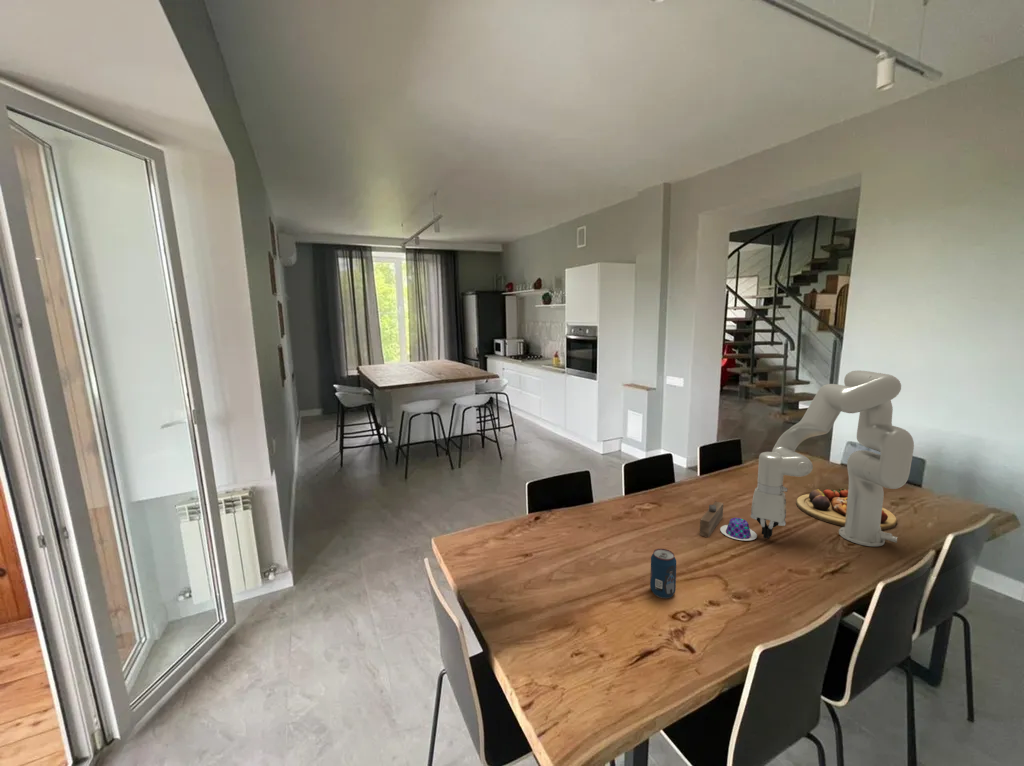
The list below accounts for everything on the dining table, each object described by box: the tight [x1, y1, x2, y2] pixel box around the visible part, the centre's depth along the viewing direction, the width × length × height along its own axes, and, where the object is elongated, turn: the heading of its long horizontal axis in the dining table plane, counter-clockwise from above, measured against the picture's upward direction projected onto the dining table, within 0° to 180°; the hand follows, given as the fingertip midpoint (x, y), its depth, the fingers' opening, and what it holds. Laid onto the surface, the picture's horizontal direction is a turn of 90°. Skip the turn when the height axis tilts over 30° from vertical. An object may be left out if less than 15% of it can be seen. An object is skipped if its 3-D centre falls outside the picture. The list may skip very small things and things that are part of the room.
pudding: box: [719, 517, 758, 542], centre depth 156 cm, size 12×12×5 cm
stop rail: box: [699, 501, 724, 538], centre depth 162 cm, size 3×20×8 cm, turn 140°
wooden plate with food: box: [795, 488, 898, 531], centre depth 171 cm, size 32×32×8 cm
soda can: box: [649, 548, 677, 599], centre depth 123 cm, size 7×7×12 cm
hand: (766, 537), depth 151 cm, fingers closed
